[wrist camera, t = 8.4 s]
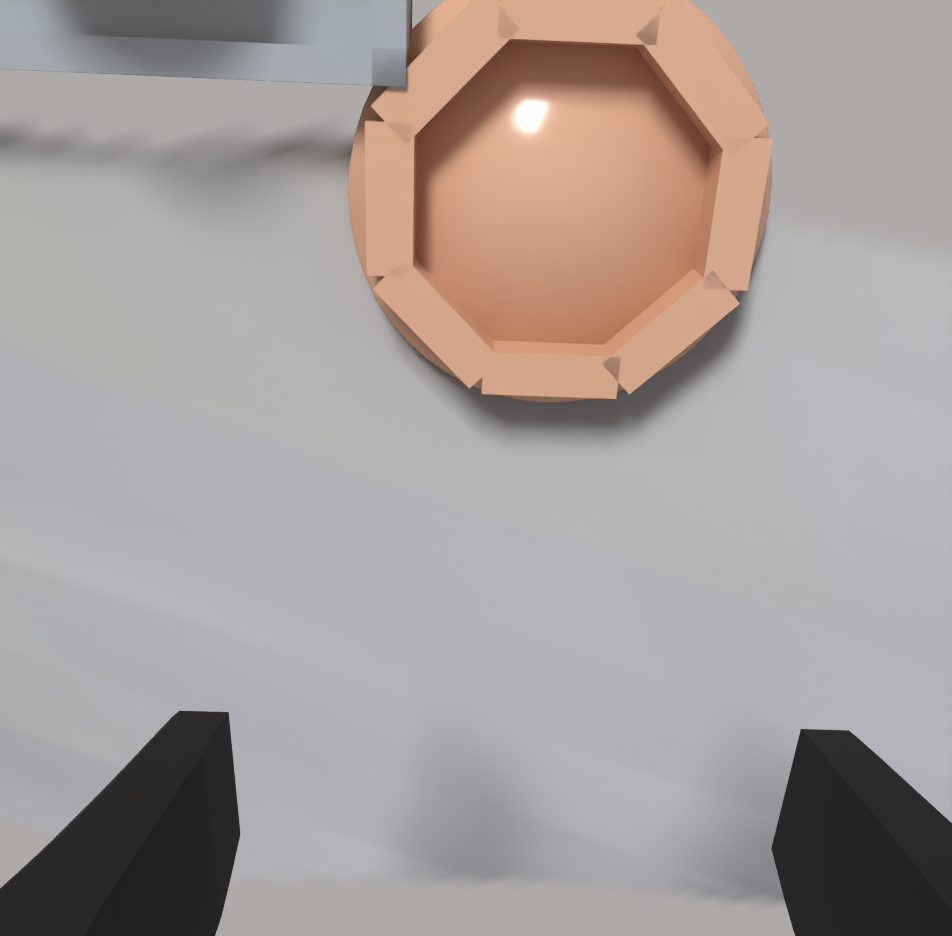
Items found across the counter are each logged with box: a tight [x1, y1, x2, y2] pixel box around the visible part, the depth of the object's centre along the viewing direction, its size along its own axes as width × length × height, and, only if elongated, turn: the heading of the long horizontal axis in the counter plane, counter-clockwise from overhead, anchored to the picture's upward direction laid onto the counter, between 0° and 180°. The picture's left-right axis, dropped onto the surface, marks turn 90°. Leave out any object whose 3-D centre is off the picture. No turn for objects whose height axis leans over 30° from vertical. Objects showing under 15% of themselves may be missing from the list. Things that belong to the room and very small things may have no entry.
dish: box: [348, 0, 773, 402], centre depth 17 cm, size 8×8×1 cm
